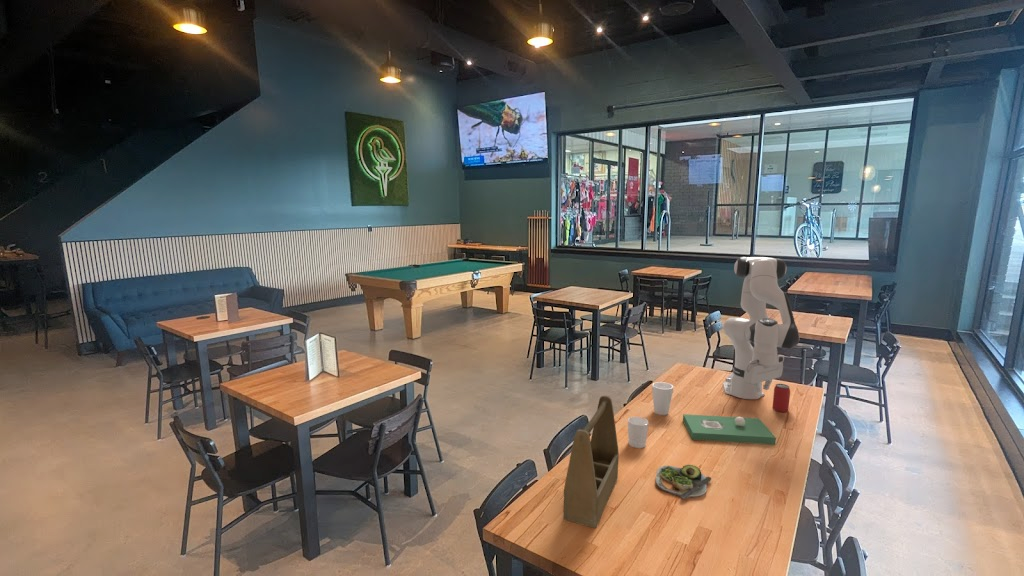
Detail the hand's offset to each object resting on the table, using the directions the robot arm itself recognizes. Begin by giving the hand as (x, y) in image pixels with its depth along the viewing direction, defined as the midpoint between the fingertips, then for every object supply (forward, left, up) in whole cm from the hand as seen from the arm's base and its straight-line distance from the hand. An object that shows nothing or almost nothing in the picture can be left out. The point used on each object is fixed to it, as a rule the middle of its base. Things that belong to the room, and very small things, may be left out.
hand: (761, 390), depth 196 cm
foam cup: (-17, -37, -19) cm, 45 cm away
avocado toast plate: (+42, -40, -20) cm, 61 cm away
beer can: (-27, +19, -19) cm, 39 cm away
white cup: (+16, -52, -19) cm, 57 cm away
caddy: (+55, -71, -19) cm, 92 cm away
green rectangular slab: (0, -13, -19) cm, 23 cm away
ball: (0, -8, -14) cm, 16 cm away
